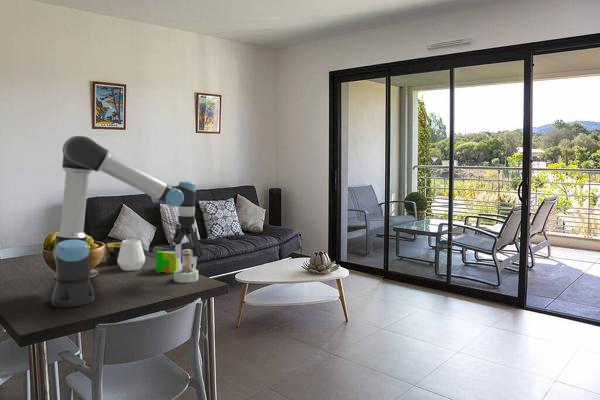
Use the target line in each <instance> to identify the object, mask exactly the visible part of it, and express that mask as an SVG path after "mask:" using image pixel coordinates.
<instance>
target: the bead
mask: <svg viewBox="0 0 600 400" xmlns="http://www.w3.org/2000/svg"><path fill="white" fill-rule="evenodd" d="M198 280H199V270H198V269H195V268H191V272H190V273H182V269H178V270H176V271H174V273H173V281H174V282H177V283H183V284H185V283H186V284H189V283H193V282H197V281H198Z"/></svg>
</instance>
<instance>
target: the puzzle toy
mask: <svg viewBox="0 0 600 400" xmlns="http://www.w3.org/2000/svg"><path fill="white" fill-rule="evenodd" d="M182 250H184V249H183V248H181V258H175V248H168V247H167V248H166V247H164V248H162V249H160V250H158V251H156V253H155V254H156V255H155V272H156V273H160V272H165V273H166V274H174V271H176V270H178V269H182ZM165 273H164V274H165Z"/></svg>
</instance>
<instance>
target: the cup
mask: <svg viewBox="0 0 600 400" xmlns="http://www.w3.org/2000/svg"><path fill="white" fill-rule="evenodd" d="M121 243H122V244H121V248H120V252H119V256H118V260H117V262H118V264H119V265H118V266H119V267H120V269H121V270H123V271H129V272H130V271H137V270H141V269H142V267H143V265H144V264H145V262H146V256H145V253H144V249H143V245H142V242H141V240H139V239H124V240H122V241H121ZM140 268H141V269H140Z"/></svg>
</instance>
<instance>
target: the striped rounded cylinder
mask: <svg viewBox="0 0 600 400" xmlns="http://www.w3.org/2000/svg"><path fill="white" fill-rule="evenodd" d="M190 256H191V248H184V249H183V250H182V273H190V272H191V269H192V264H190Z"/></svg>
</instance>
